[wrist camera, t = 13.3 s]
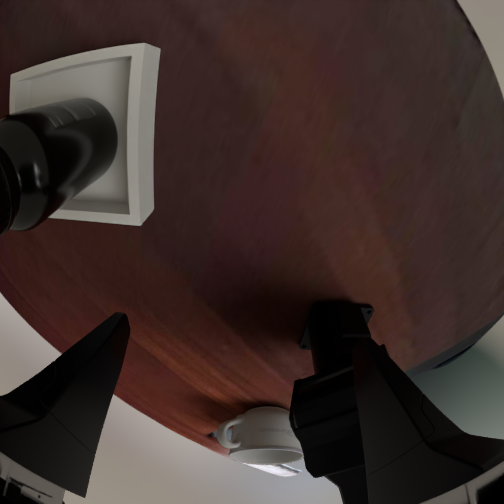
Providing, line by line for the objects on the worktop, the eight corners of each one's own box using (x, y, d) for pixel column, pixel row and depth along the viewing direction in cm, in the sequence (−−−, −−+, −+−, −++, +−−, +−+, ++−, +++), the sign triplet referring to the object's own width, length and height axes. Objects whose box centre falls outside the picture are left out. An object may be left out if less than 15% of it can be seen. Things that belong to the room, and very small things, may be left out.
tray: (154, 209, 22) (140, 226, 19) (39, 202, 21) (21, 215, 18) (160, 48, 15) (144, 42, 12) (33, 72, 15) (10, 74, 12)
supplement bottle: (41, 130, 17) (-71, 183, 6) (97, 79, 15) (-36, 97, 5) (77, 196, 20) (-20, 282, 10) (137, 154, 18) (25, 233, 8)
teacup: (313, 415, 39) (317, 458, 32) (258, 431, 43) (258, 470, 36) (262, 381, 33) (262, 437, 27) (202, 401, 37) (195, 449, 30)
